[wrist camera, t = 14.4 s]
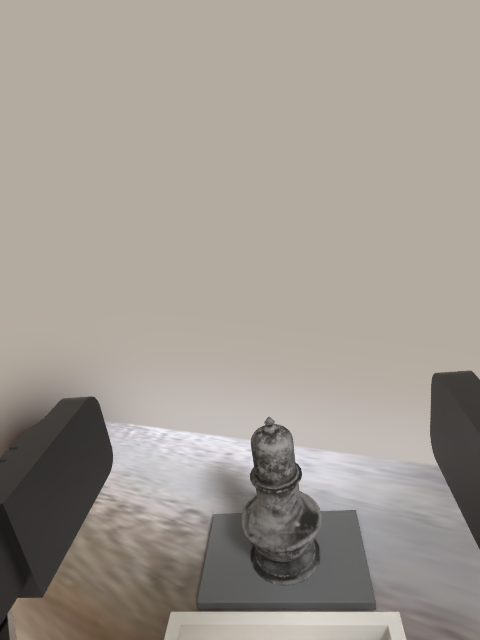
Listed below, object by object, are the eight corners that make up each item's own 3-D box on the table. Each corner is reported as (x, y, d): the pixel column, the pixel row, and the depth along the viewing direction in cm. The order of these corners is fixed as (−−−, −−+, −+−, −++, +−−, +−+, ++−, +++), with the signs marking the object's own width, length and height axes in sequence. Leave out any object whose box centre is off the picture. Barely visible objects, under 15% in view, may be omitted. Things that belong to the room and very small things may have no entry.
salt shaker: (241, 531, 35) (220, 403, 31) (311, 516, 36) (299, 388, 32) (254, 598, 29) (230, 452, 25) (336, 579, 30) (326, 433, 26)
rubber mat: (356, 515, 36) (355, 510, 36) (375, 609, 28) (375, 602, 28) (215, 519, 37) (214, 514, 37) (198, 609, 30) (196, 603, 30)
